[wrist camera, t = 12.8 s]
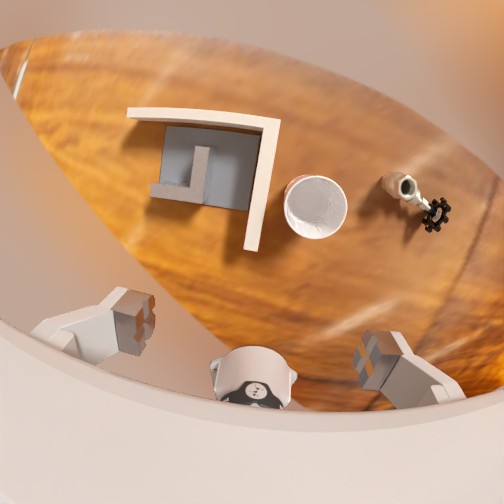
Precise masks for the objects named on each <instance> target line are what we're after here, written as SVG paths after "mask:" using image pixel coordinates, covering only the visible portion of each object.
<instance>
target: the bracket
mask: <svg viewBox="0 0 504 504" xmlns="http://www.w3.org/2000/svg"><path fill="white" fill-rule="evenodd" d="M215 154H216V148H210V147H201V146H195V153H194V160H193V167H192V174H191V182H190V183H186V182H178V181H170V180H161V181H157V182H154V183H151V192H150V197H157V198H165V199H172V200H179V201H186V202H193V203H199V204H202V203H204V202H205V201H206V200H208V199H209V195H210V188H211V181H212V174H213V167H214V160H215Z"/></svg>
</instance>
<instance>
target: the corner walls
mask: <svg viewBox="0 0 504 504" xmlns="http://www.w3.org/2000/svg"><path fill="white" fill-rule="evenodd" d="M127 118H132V119H136V120H141V121H162V122H182V123H196V124H207V125H217V126H226V127H234V128H242V129H249V130H256V131H262V132H263V135H262V141H261V147H260V152H259V158H258V164H257V170H256V176H255V182H254V188H253V194H252V200H251V206H250V212H249V218H248V224H247V230H246V237H245V243H244V249H245V250H251V251H256V252H257V251H258V246H259V240H260V235H261V229H262V223H263V218H264V212H265V207H266V201H267V195H268V190H269V184H270V179H271V173H272V167H273V162H274V156H275V150H276V144H277V139H278V133H279V127H280V122H281V120H279V119H273V118H268V117H261V116H255V115H248V114H240V113H232V112H223V111H212V110H200V109H184V108H128V112H127Z"/></svg>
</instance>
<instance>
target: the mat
mask: <svg viewBox="0 0 504 504" xmlns="http://www.w3.org/2000/svg"><path fill="white" fill-rule="evenodd" d="M259 141H260V136H258V135H251V134H245V133H237V132H230V131H221V130H212V129H202V128H190V127H176V126H167V127H166V133H165V140H164V148H163V155H162V164H161V173H160V181H161V180H170V181H178V182H186V183H190V182H191V174H192V167H193V160H194V153H195V146H201V147H210V148H216V154H215V160H214V167H213V174H212V181H211V188H210V195H209V199H208V200H206V201H205V202H204V203H202V204H205V205H211V206H218V207H224V208H230V209H236V210H242V211H248V206H249V200H250V194H251V188H252V182H253V176H254V170H255V164H256V158H257V152H258V146H259ZM163 199H165V198H163ZM170 200H172V199H170ZM177 201H179V200H177ZM184 202H186V201H184ZM191 203H193V202H191ZM198 204H199V203H198Z"/></svg>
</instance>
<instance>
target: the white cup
mask: <svg viewBox="0 0 504 504" xmlns="http://www.w3.org/2000/svg"><path fill="white" fill-rule="evenodd" d="M284 213H285V217H286V220H287V222H288V224H289V226H290V227H291V228H292V229H293V230H294V231H295V232H296V233H297V234H299V235H301V236H303V237H305V238H309V239H321V238H325V237H328V236H330V235H332V234H333V233H335V232H336V231H337V230H338V229H339V228H340V227H341V225H342V224H343V222H344V220H345V217H346V213H347V201H346V197H345V194H344V192H343V191H342V189H341V188H340V187H339V185H338V184H337V183H335V182H334V181H332V180H331V179H329V178H326V177H323V176H317V175H302V176H298V177H295V178H294V179H293V180H292V181H290V182H289V183H288V185H287V187H286V190H285V192H284Z"/></svg>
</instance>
